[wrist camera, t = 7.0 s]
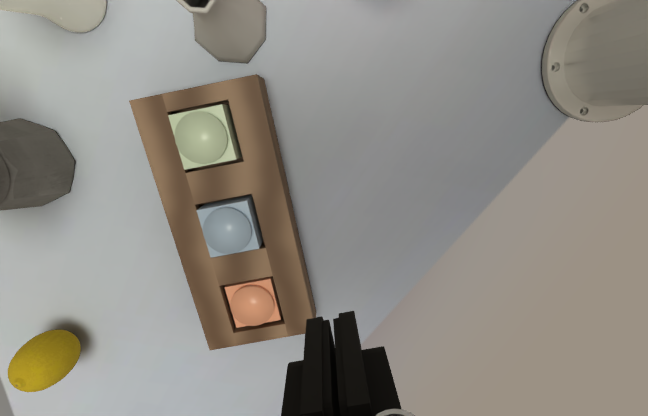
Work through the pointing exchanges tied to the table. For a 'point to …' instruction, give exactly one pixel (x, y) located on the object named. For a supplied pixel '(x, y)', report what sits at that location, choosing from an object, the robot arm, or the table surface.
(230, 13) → the flask
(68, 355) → the lemon
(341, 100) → the table surface
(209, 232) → the slate blue button
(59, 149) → the coffeepot
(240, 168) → the button panel
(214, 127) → the sage green button
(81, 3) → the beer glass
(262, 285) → the terracotta button
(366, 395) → the robot arm
